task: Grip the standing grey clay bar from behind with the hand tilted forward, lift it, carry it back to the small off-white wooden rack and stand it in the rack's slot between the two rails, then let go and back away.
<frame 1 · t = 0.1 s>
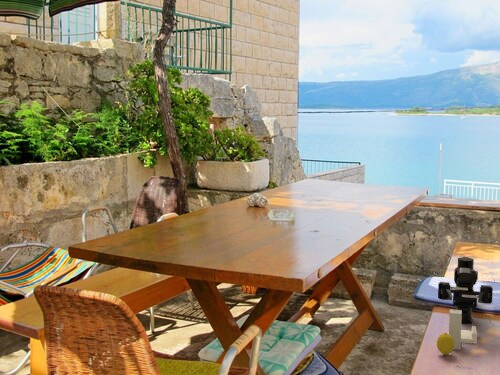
hand: (464, 299, 211), 17 cm above the table, tool horizontal, fingers open, 9 cm apart
lemon: (444, 355, 205), on the table
rack: (463, 338, 220), on the table
clay bar: (454, 346, 212), on the table
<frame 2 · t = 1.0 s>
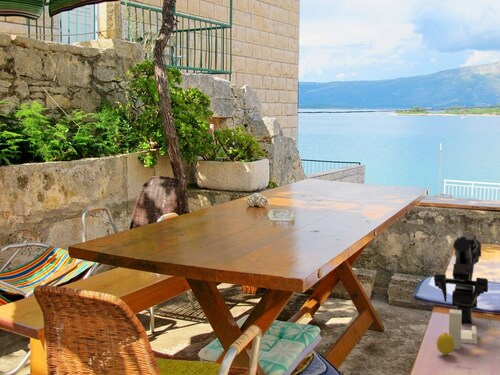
hand: (458, 302, 217), 14 cm above the table, tool tilted 45°, fingers open, 9 cm apart
nothing on the table moved.
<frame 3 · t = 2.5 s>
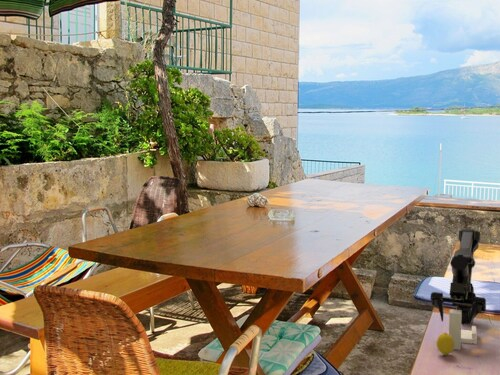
hand: (455, 322, 211), 9 cm above the table, tool tilted 45°, fingers open, 9 cm apart
nothing on the table moved.
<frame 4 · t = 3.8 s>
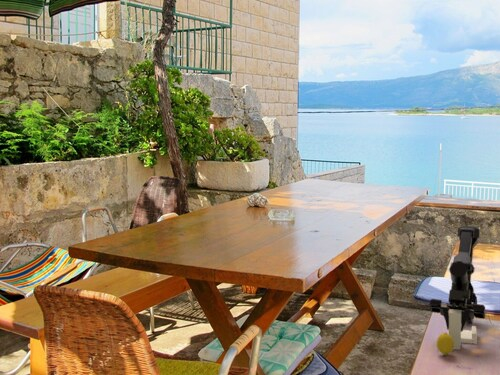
hand: (454, 330, 210), 7 cm above the table, tool tilted 45°, fingers closed on clay bar, 4 cm apart
clay bar: (454, 346, 212), on the table, touching gripper
everything else where it was.
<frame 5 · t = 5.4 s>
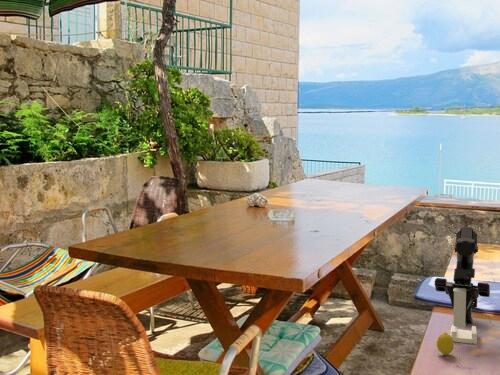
hand: (459, 308, 213), 13 cm above the table, tool tilted 45°, fingers closed on clay bar, 4 cm apart
clay bar: (459, 324, 215), point 6 cm above the table, touching gripper
everything else where it was.
when the fingers open (9 cm above the table, at t = 7.1 s): clay bar stays where it is, resting on rack.
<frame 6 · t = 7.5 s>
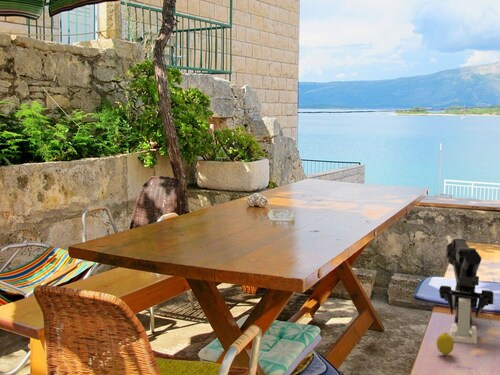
hand: (463, 315, 217), 9 cm above the table, tool tilted 45°, fingers open, 8 cm apart
clay bar: (463, 334, 219), point 1 cm above the table, touching rack
everything else where it was.
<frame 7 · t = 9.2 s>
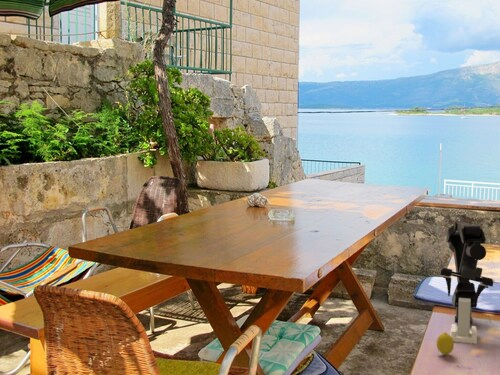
hand: (461, 299, 224), 13 cm above the table, tool tilted 15°, fingers open, 9 cm apart
nothing on the table moved.
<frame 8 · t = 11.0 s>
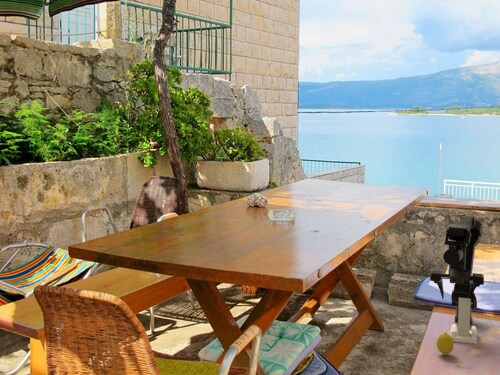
hand: (456, 299, 223), 13 cm above the table, tool pointing down, fingers open, 9 cm apart
nothing on the table moved.
at the end: clay bar 0.0 cm off-centre on the rack, point 1.5 cm above the rack's base; clay bar tilted 0°; the gripper is holding nothing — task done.
